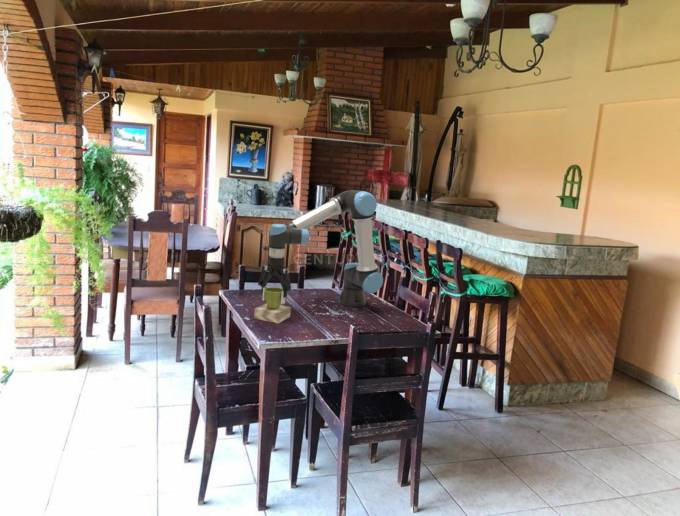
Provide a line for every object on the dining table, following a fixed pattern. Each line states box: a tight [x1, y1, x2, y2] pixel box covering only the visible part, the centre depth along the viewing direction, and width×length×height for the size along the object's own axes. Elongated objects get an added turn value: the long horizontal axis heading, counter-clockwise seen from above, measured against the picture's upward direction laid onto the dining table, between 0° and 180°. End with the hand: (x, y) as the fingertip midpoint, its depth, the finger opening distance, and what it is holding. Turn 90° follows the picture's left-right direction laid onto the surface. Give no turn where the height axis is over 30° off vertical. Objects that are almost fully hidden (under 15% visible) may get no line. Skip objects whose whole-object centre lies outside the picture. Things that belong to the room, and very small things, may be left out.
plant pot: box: [264, 287, 283, 309], centre depth 256 cm, size 9×9×9 cm
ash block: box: [253, 302, 292, 324], centre depth 257 cm, size 13×13×5 cm
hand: (273, 301), depth 256 cm, fingers closed on plant pot, 9 cm apart
